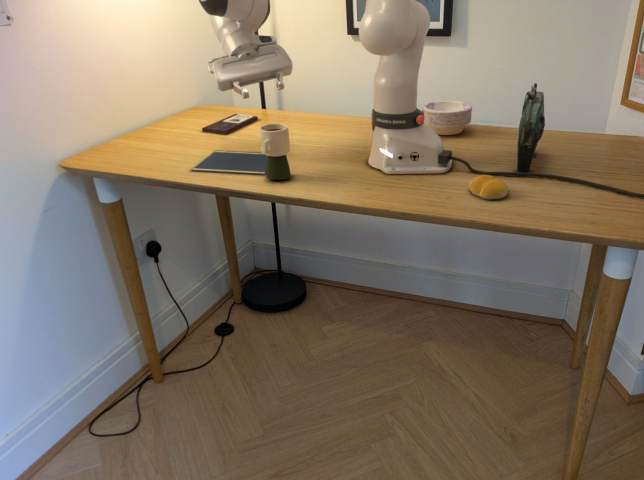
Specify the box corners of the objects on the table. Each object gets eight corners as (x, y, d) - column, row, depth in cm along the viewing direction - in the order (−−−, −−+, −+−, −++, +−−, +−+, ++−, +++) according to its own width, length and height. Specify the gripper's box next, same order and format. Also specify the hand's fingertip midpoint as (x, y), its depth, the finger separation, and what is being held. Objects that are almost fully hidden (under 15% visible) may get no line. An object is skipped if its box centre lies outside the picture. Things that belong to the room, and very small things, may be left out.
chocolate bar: (201, 128, 178) (235, 113, 192) (202, 131, 178) (235, 116, 192) (225, 131, 175) (257, 116, 189) (225, 134, 175) (257, 119, 189)
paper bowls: (420, 124, 182) (421, 99, 178) (467, 124, 181) (469, 99, 177) (422, 138, 169) (423, 112, 165) (472, 138, 169) (475, 112, 164)
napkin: (283, 154, 158) (282, 153, 158) (263, 175, 145) (263, 173, 145) (216, 151, 162) (216, 150, 162) (191, 171, 148) (191, 169, 148)
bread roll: (493, 203, 128) (495, 187, 126) (463, 192, 134) (464, 176, 131) (515, 194, 132) (517, 178, 130) (485, 183, 138) (487, 168, 136)
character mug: (274, 169, 148) (269, 120, 142) (299, 172, 147) (295, 122, 140) (256, 184, 140) (249, 132, 133) (282, 187, 138) (277, 134, 131)
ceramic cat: (517, 149, 159) (527, 76, 149) (541, 151, 158) (552, 77, 147) (510, 174, 143) (520, 93, 133) (536, 176, 142) (548, 95, 131)
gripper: (203, 51, 139) (223, 93, 135) (280, 34, 146) (301, 73, 142) (205, 70, 145) (225, 111, 141) (279, 53, 151) (300, 91, 147)
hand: (264, 92), depth 141 cm, fingers open, 8 cm apart
